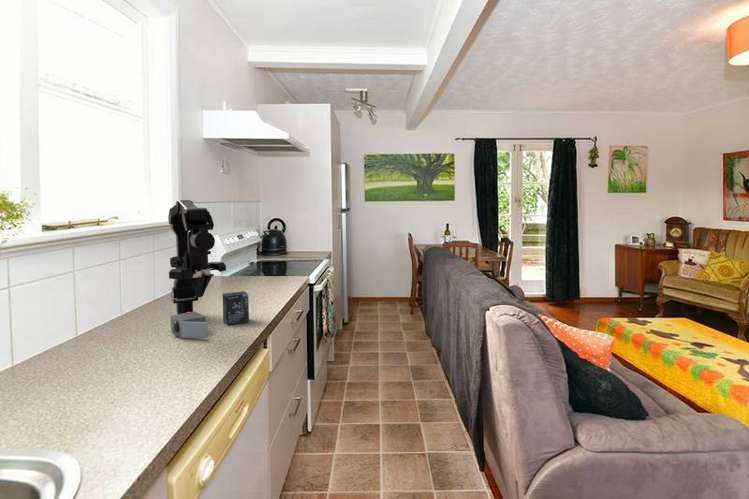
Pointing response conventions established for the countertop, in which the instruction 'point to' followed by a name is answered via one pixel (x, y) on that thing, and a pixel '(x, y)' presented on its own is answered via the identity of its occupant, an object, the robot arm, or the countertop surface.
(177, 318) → the grey squat block
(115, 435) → the countertop surface
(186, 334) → the side door
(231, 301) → the box
